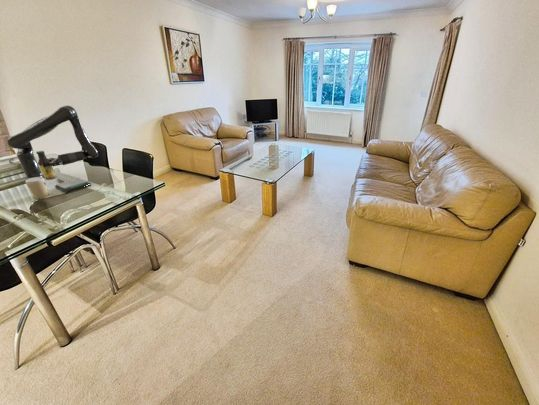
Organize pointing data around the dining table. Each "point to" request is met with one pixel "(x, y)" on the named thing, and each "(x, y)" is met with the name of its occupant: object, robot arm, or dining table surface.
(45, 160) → the sauce bottle
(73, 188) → the kitchen scale
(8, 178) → the dining table surface
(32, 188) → the coffee cup
